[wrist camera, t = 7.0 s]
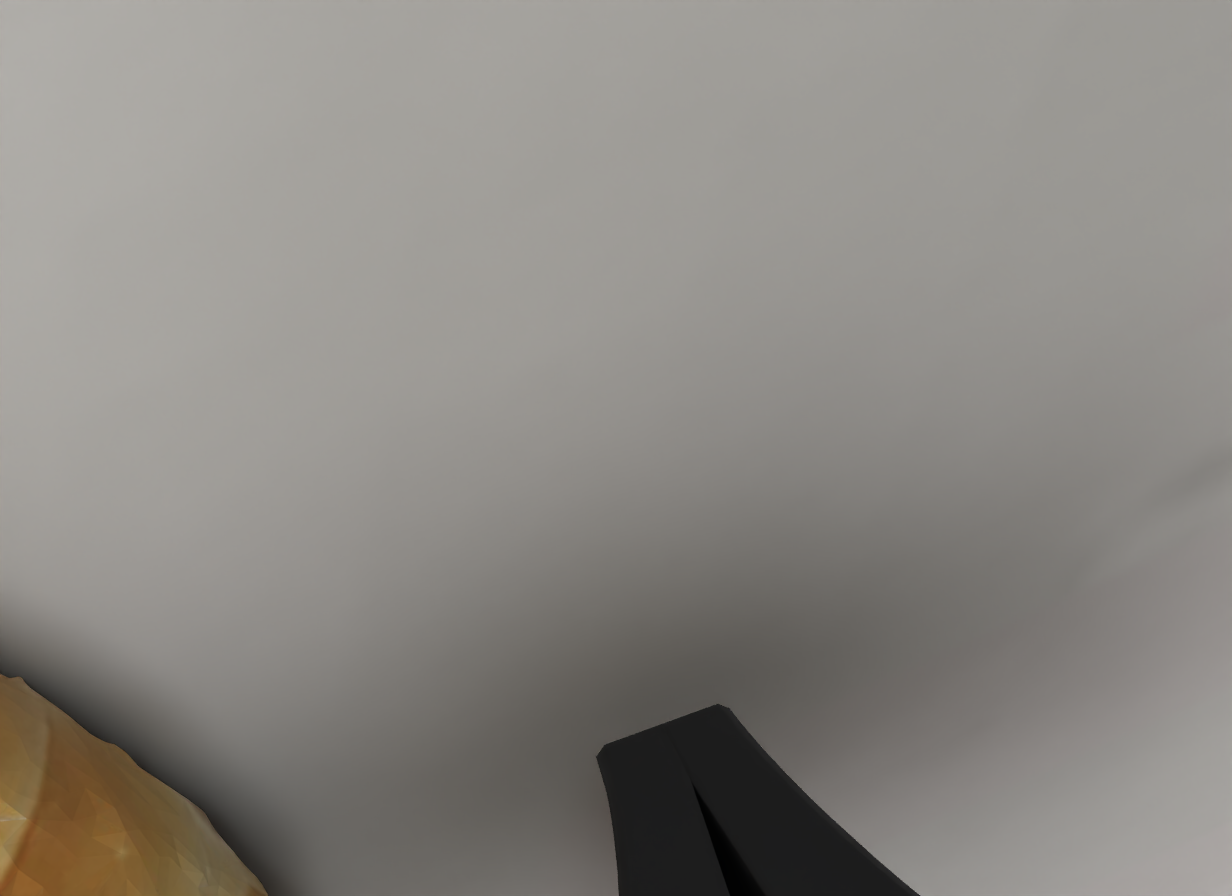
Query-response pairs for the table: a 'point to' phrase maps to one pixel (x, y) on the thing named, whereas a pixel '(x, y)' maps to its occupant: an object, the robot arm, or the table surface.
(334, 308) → the table surface
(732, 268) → the table surface
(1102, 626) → the table surface
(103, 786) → the pastry
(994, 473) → the table surface
